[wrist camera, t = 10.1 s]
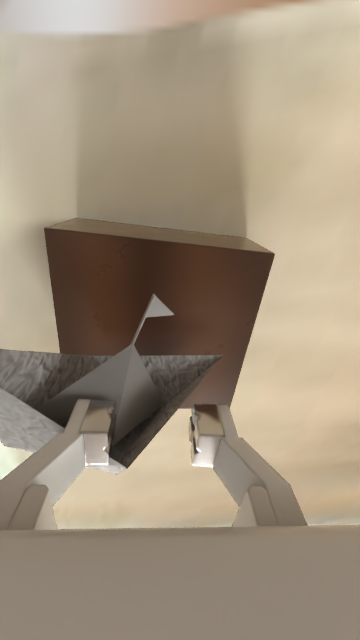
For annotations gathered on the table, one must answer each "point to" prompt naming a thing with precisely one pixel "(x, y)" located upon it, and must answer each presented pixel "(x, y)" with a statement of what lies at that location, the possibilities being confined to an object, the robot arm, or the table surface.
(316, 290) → the table surface
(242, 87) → the table surface
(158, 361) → the paper boat
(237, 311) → the walnut block
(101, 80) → the table surface
